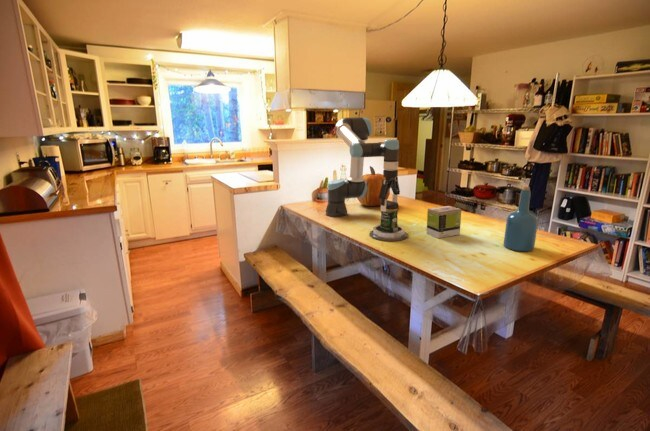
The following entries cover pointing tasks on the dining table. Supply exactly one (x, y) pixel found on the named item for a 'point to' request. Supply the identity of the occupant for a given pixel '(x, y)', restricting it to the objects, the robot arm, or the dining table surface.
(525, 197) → the wine bottle
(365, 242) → the dining table surface
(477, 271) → the dining table surface
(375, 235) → the ring collar
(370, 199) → the pumpkin
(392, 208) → the coffee jar
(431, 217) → the tea box
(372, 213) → the dining table surface
